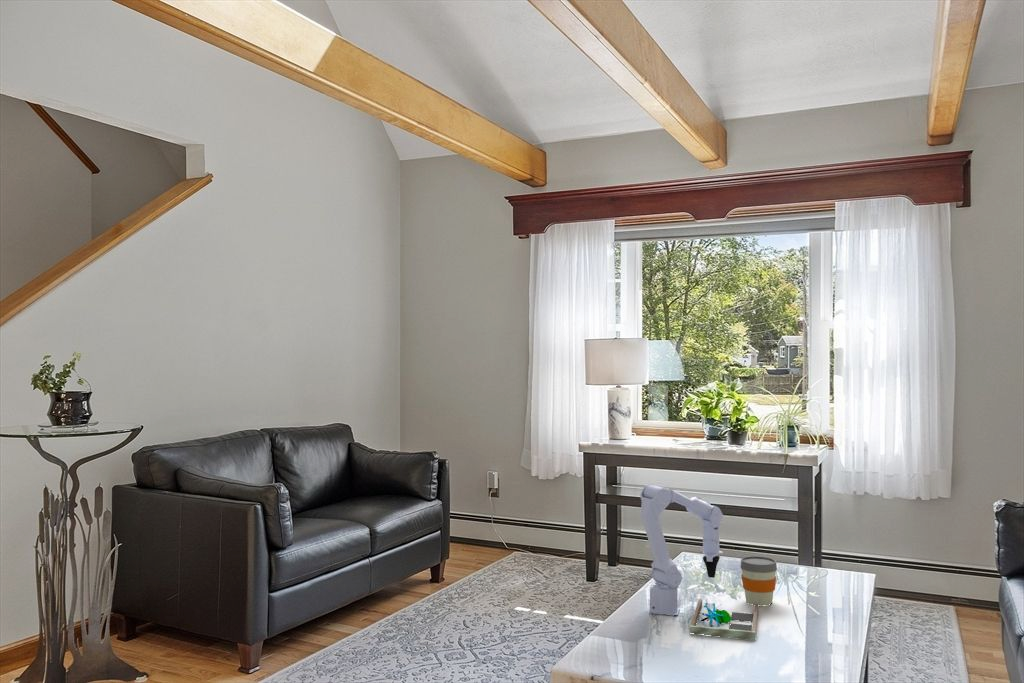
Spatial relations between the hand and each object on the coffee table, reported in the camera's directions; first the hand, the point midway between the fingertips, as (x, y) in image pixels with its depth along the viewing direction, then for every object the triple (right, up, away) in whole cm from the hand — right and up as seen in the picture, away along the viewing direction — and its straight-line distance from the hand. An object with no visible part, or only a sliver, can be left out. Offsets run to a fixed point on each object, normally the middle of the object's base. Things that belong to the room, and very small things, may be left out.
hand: (711, 577), depth 296 cm
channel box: (0, -9, -20) cm, 22 cm away
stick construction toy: (-4, -10, -21) cm, 23 cm away
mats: (+5, -9, -22) cm, 24 cm away
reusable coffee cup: (+17, -10, +1) cm, 20 cm away
